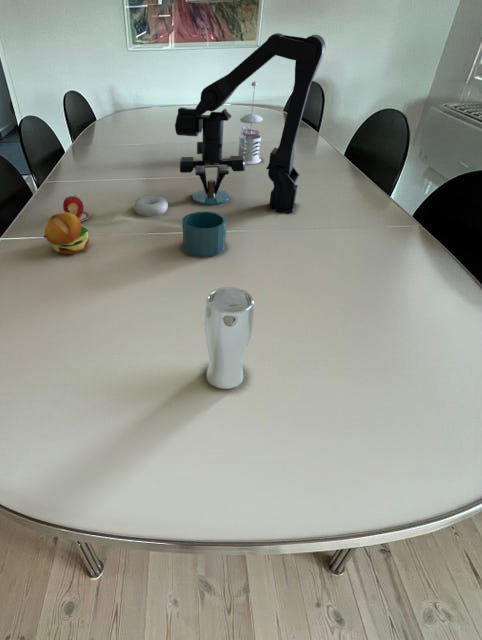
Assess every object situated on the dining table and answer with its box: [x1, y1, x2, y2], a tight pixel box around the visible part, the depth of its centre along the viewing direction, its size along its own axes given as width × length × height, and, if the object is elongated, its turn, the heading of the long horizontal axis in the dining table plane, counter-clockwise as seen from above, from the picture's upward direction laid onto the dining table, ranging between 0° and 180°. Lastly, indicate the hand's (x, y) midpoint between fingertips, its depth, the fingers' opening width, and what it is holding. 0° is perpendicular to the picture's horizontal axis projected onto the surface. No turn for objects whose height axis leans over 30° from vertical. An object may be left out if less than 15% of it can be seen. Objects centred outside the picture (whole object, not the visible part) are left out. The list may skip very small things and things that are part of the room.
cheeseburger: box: [43, 211, 90, 255], centre depth 101 cm, size 10×11×10 cm
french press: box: [237, 81, 264, 165], centre depth 146 cm, size 10×12×25 cm
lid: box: [192, 179, 231, 206], centre depth 123 cm, size 11×11×6 cm
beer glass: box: [204, 286, 255, 390], centre depth 62 cm, size 7×7×15 cm
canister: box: [181, 211, 227, 258], centre depth 99 cm, size 10×10×7 cm
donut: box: [133, 195, 169, 217], centre depth 119 cm, size 10×4×10 cm
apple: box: [62, 194, 91, 223], centre depth 115 cm, size 8×8×6 cm
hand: (211, 194), depth 124 cm, fingers closed on lid, 2 cm apart
